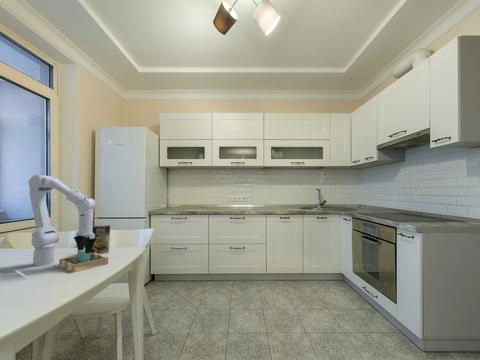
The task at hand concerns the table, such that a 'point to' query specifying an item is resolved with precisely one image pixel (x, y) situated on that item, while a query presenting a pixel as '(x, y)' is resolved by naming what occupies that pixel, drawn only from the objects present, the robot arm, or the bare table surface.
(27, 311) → the table surface
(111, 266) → the table surface
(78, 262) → the frame
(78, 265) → the oak box
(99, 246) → the coffee box
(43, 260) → the robot arm
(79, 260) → the teal peg
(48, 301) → the table surface
